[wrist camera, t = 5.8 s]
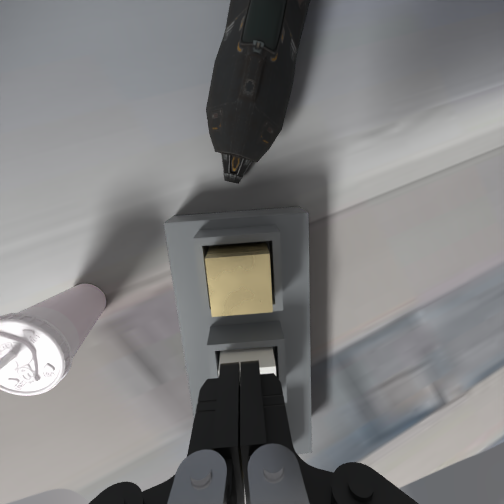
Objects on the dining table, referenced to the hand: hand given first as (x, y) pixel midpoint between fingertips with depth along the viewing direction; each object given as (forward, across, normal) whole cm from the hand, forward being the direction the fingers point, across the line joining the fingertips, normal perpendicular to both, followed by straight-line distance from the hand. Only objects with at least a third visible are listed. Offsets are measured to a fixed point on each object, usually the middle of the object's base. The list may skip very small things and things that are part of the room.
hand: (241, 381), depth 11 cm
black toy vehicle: (+19, -4, -19) cm, 27 cm away
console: (+18, 0, +9) cm, 20 cm away
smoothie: (+18, +16, +4) cm, 25 cm away
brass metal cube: (+12, 0, 0) cm, 12 cm away
